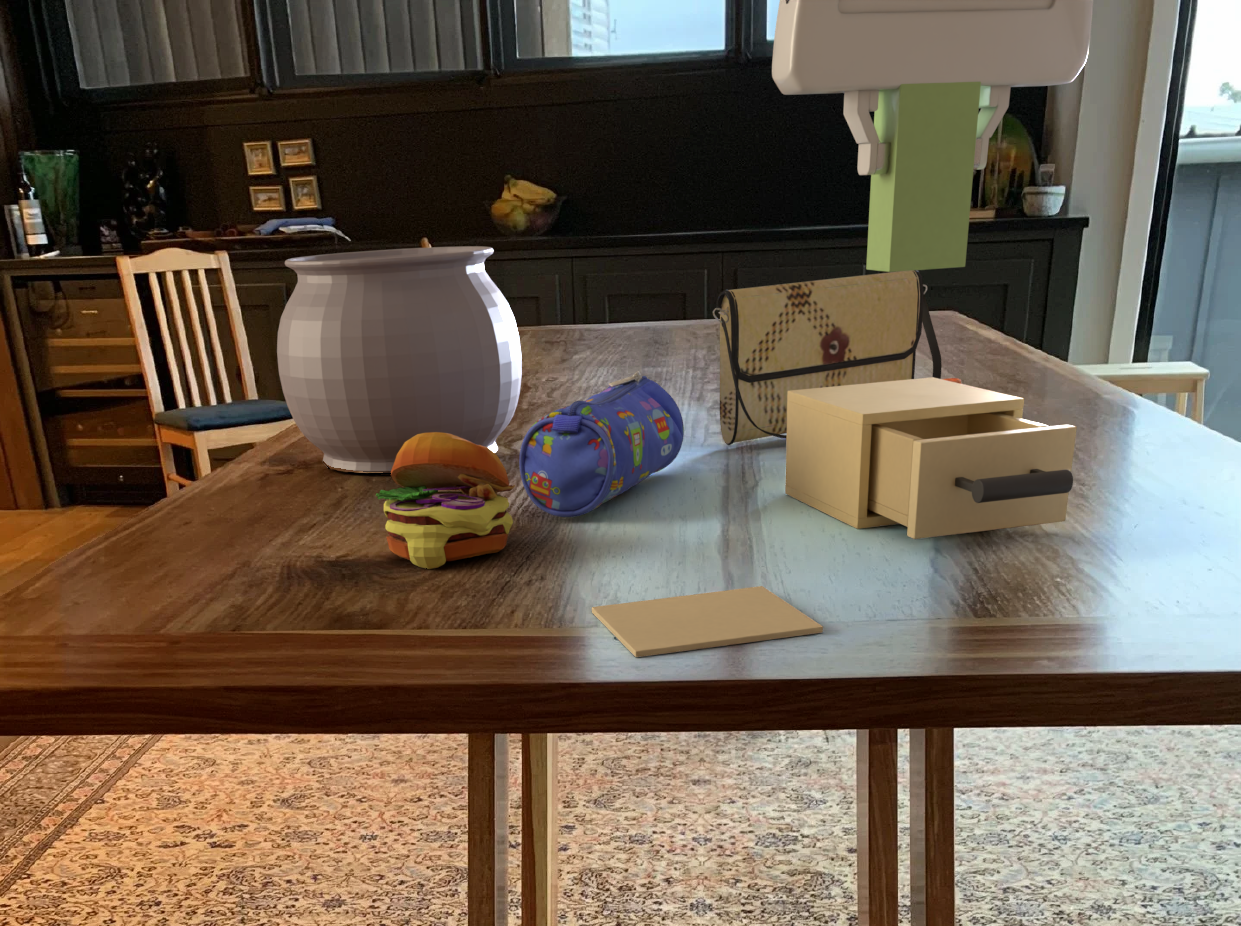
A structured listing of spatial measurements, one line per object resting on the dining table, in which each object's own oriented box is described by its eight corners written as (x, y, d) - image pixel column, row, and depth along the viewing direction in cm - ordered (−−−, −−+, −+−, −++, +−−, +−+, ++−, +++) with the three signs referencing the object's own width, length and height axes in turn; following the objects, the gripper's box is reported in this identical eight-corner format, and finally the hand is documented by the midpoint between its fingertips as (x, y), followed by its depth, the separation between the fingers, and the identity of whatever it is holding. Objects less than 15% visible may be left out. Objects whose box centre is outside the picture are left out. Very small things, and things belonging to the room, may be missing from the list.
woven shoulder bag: (748, 455, 132) (749, 292, 125) (705, 446, 137) (704, 290, 130) (955, 416, 146) (966, 268, 139) (908, 410, 151) (918, 267, 144)
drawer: (1099, 533, 94) (1113, 435, 91) (943, 553, 92) (951, 452, 89) (973, 488, 110) (980, 402, 106) (836, 503, 107) (839, 416, 104)
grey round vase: (499, 481, 126) (481, 254, 117) (255, 485, 131) (220, 267, 122) (548, 435, 148) (536, 241, 139) (338, 440, 152) (313, 252, 143)
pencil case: (605, 470, 129) (602, 366, 124) (690, 472, 126) (689, 366, 121) (517, 522, 111) (509, 403, 106) (613, 526, 108) (608, 403, 103)
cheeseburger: (359, 569, 99) (353, 429, 96) (413, 567, 109) (410, 440, 106) (485, 569, 96) (483, 426, 94) (530, 567, 106) (528, 438, 104)
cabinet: (1012, 511, 105) (1024, 398, 101) (857, 529, 103) (862, 414, 99) (925, 478, 118) (933, 377, 114) (784, 493, 115) (787, 390, 111)
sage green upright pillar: (940, 264, 90) (954, 76, 85) (965, 266, 87) (982, 72, 82) (865, 269, 89) (875, 80, 84) (889, 272, 86) (901, 75, 81)
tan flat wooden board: (762, 591, 89) (762, 585, 89) (823, 632, 80) (823, 626, 80) (591, 612, 86) (591, 606, 86) (635, 657, 78) (635, 651, 78)
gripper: (800, -99, 74) (791, 179, 80) (1121, -101, 78) (1088, 164, 84) (759, -79, 79) (754, 180, 86) (1062, -82, 83) (1035, 166, 90)
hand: (922, 172), depth 85 cm, fingers closed on sage green upright pillar, 5 cm apart
